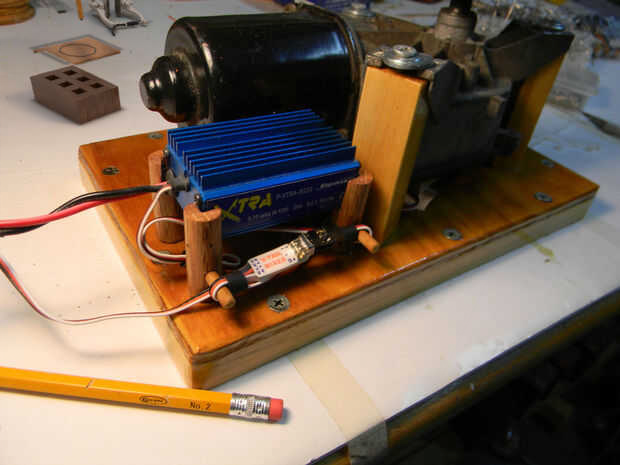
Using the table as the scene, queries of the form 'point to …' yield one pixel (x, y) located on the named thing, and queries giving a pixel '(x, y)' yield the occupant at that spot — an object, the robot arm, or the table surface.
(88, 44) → the pad
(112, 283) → the table surface
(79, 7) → the pencil
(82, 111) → the stand
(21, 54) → the table surface
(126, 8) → the bike brake
